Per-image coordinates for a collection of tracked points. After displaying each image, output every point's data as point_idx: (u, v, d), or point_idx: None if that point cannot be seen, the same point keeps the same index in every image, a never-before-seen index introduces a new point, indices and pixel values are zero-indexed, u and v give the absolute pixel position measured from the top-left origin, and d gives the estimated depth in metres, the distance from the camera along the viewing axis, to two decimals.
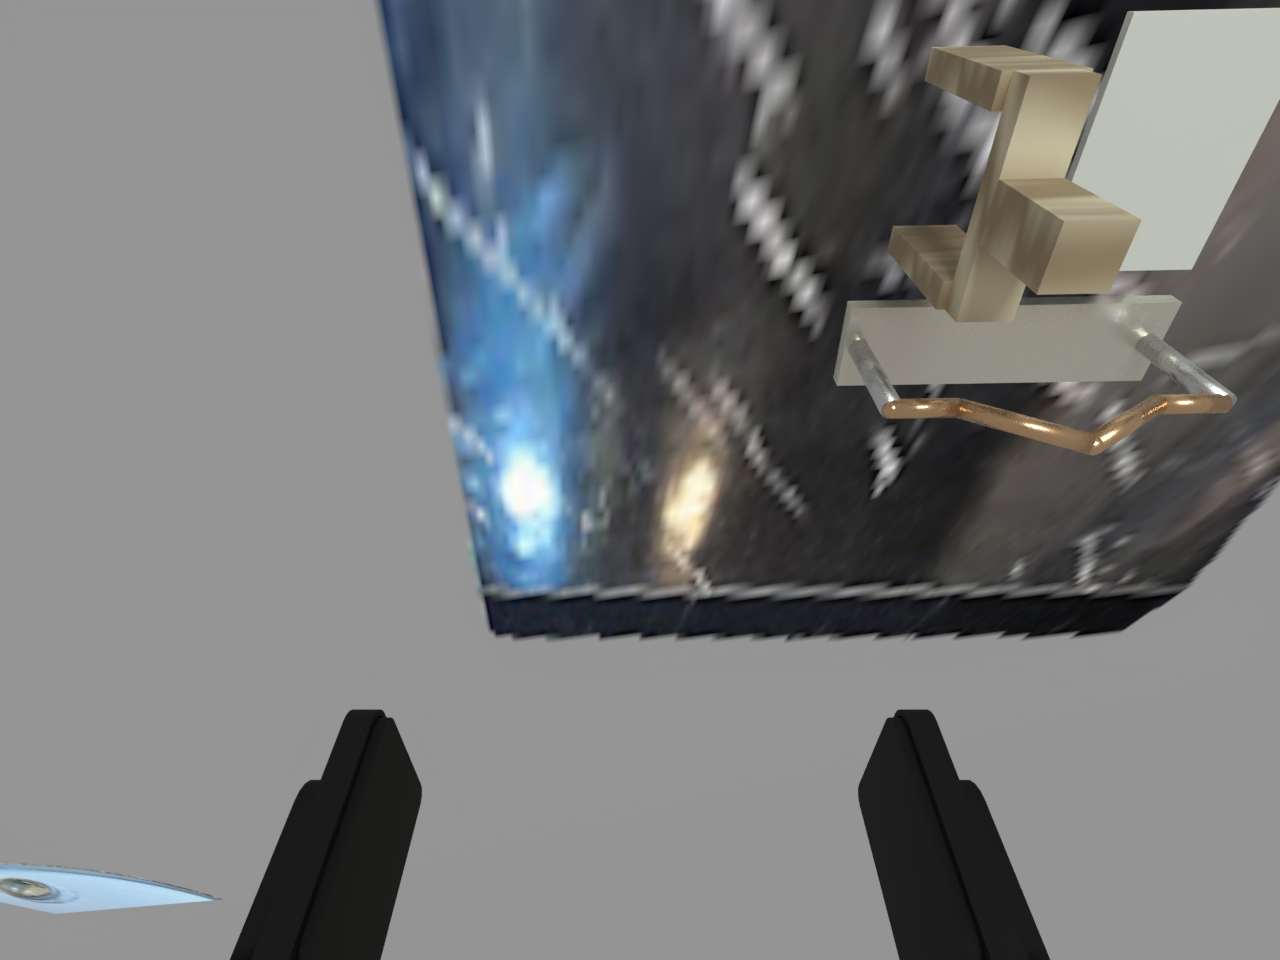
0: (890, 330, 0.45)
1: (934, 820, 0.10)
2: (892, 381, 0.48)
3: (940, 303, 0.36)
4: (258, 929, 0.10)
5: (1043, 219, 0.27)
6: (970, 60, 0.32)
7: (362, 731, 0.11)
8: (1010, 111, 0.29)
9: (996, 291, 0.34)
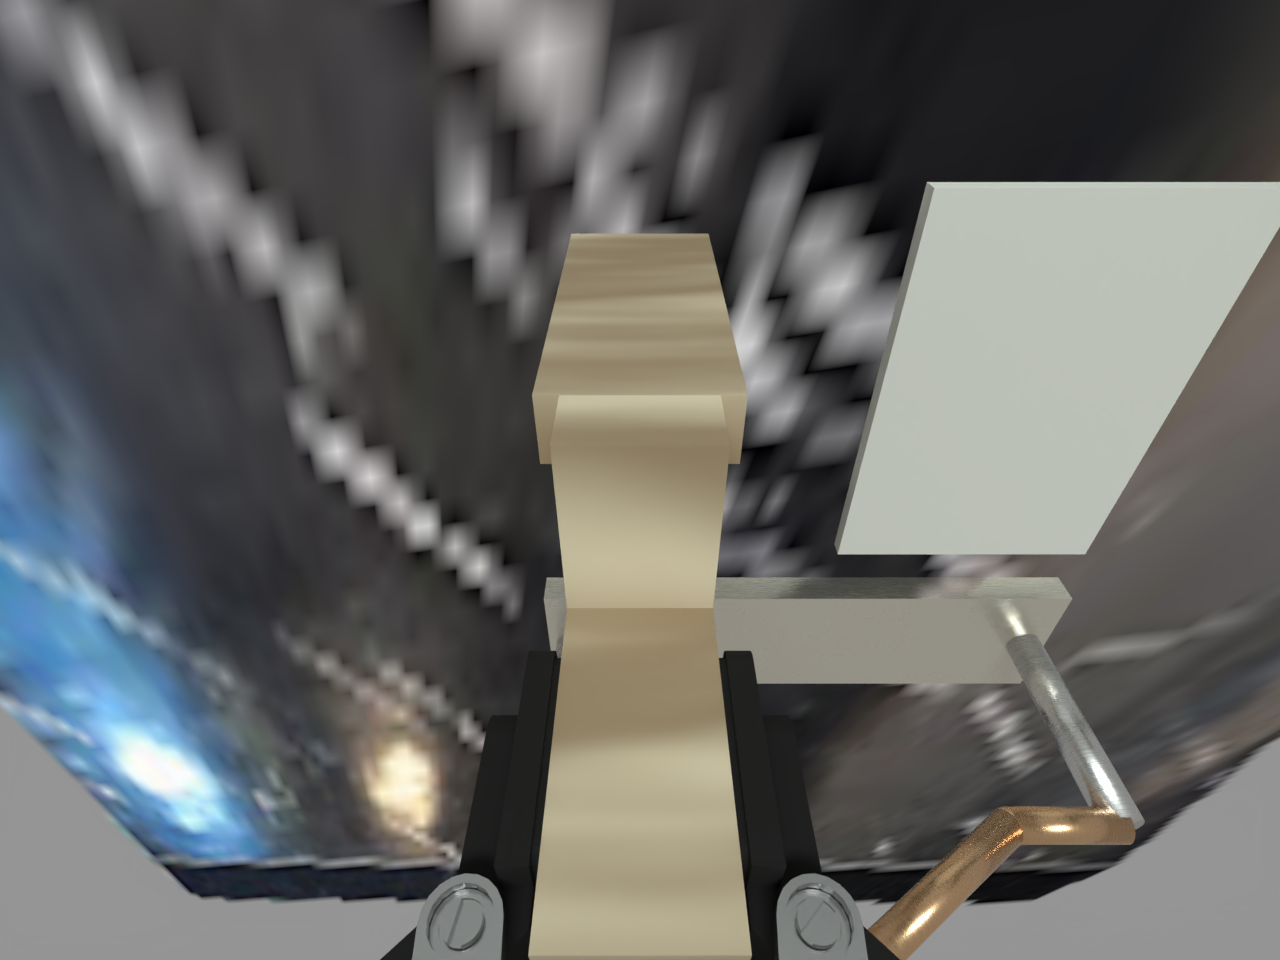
0: None
1: (730, 743, 0.11)
2: None
3: None
4: (479, 839, 0.11)
5: (543, 853, 0.10)
6: (552, 313, 0.15)
7: (545, 668, 0.12)
8: None
9: None
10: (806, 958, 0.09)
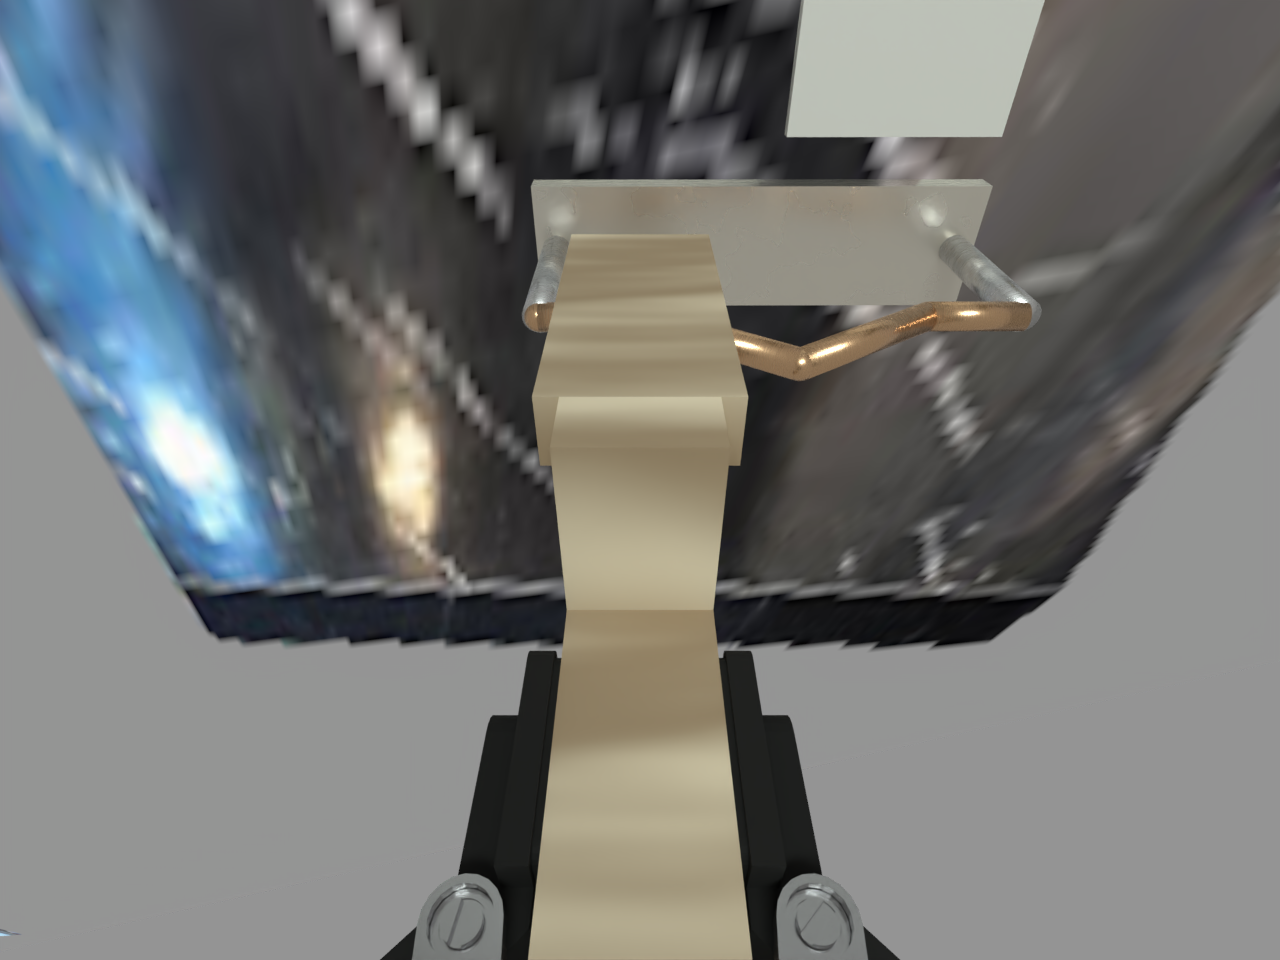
0: (593, 223, 0.32)
1: (731, 743, 0.11)
2: None
3: None
4: (479, 839, 0.11)
5: (543, 857, 0.10)
6: (552, 314, 0.15)
7: (546, 668, 0.12)
8: None
9: None
10: (806, 958, 0.09)
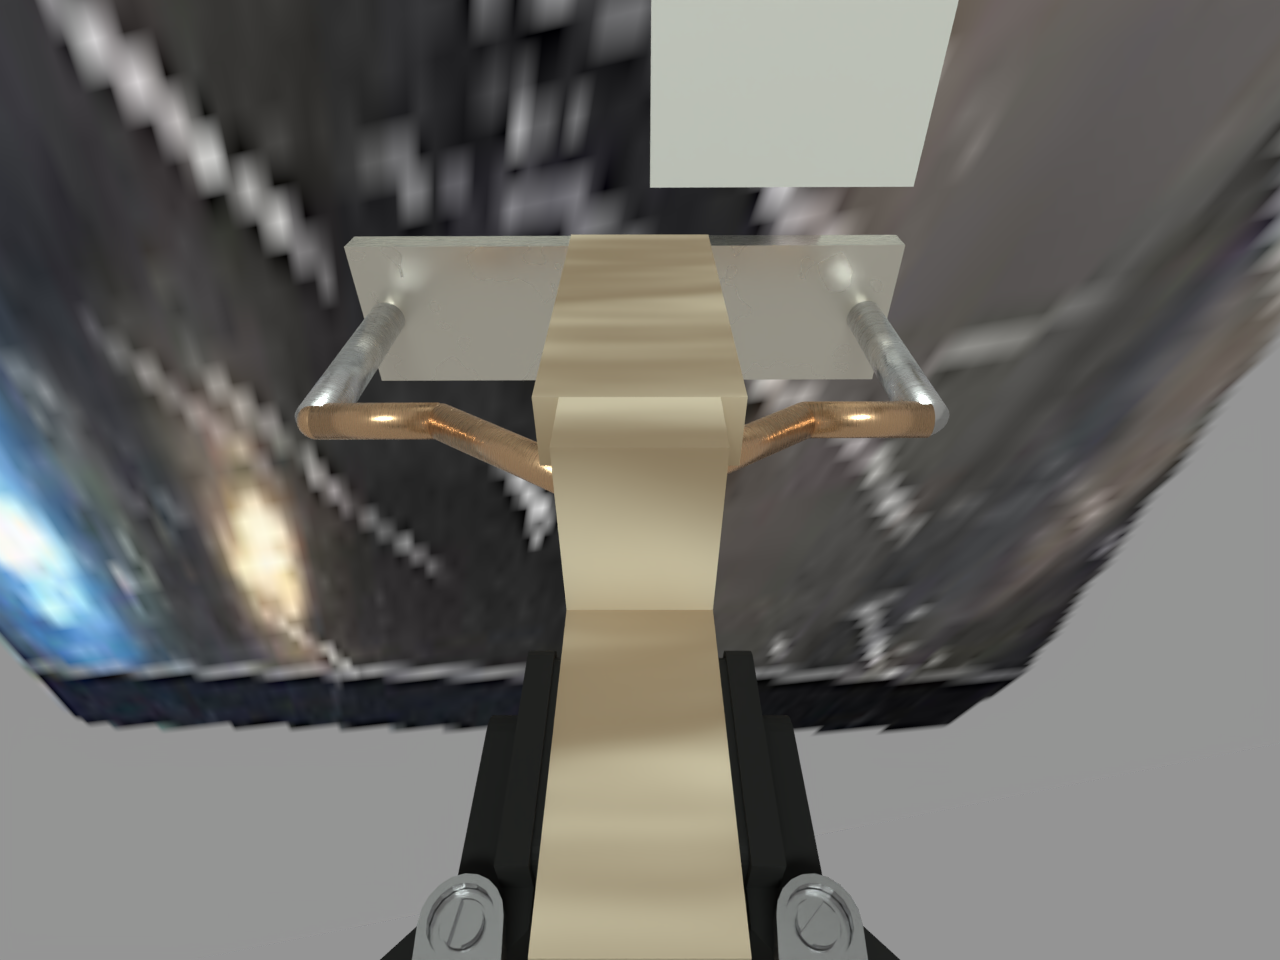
0: (427, 288, 0.27)
1: (730, 743, 0.11)
2: (469, 374, 0.29)
3: None
4: (479, 839, 0.11)
5: (543, 856, 0.10)
6: (552, 314, 0.15)
7: (546, 668, 0.12)
8: None
9: None
10: (806, 958, 0.09)
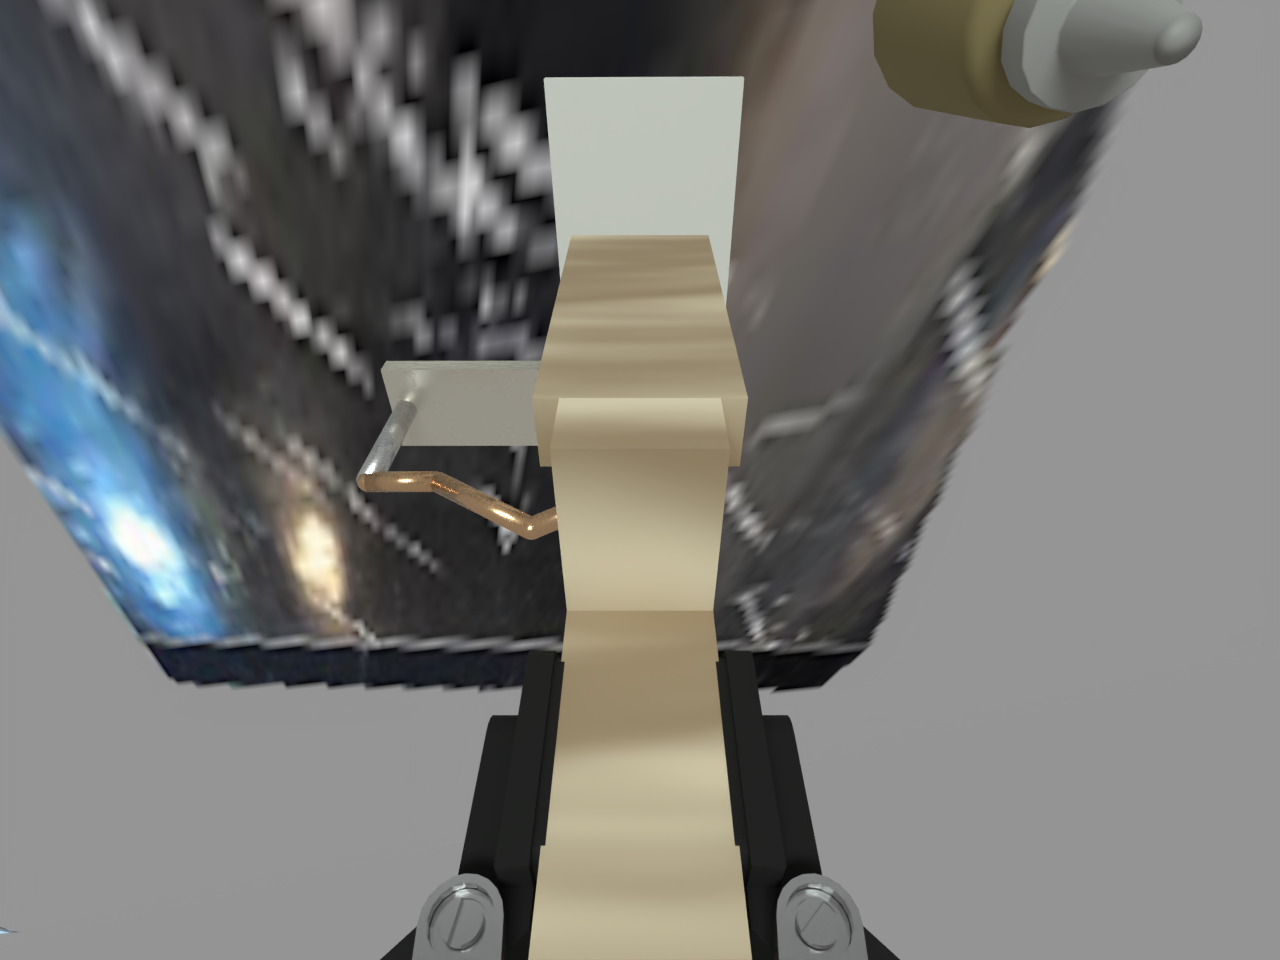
0: (431, 392, 0.44)
1: (730, 743, 0.11)
2: (458, 442, 0.46)
3: None
4: (479, 838, 0.11)
5: (543, 857, 0.10)
6: (552, 315, 0.15)
7: (545, 668, 0.12)
8: None
9: None
10: (806, 958, 0.09)
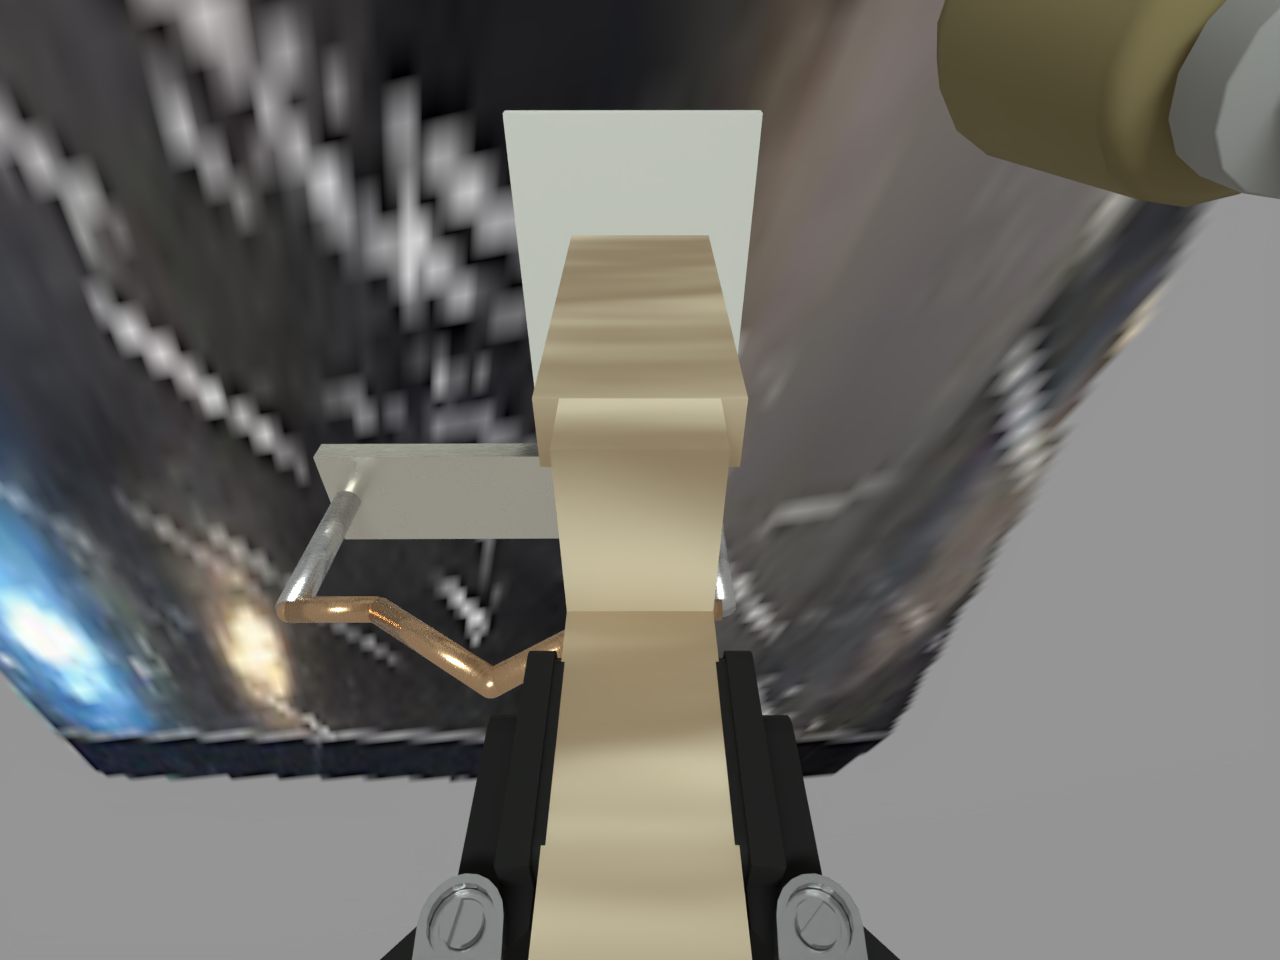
0: (376, 482, 0.36)
1: (731, 743, 0.11)
2: (412, 535, 0.38)
3: None
4: (479, 838, 0.11)
5: (543, 858, 0.10)
6: (552, 315, 0.15)
7: (545, 668, 0.12)
8: None
9: None
10: (806, 958, 0.09)
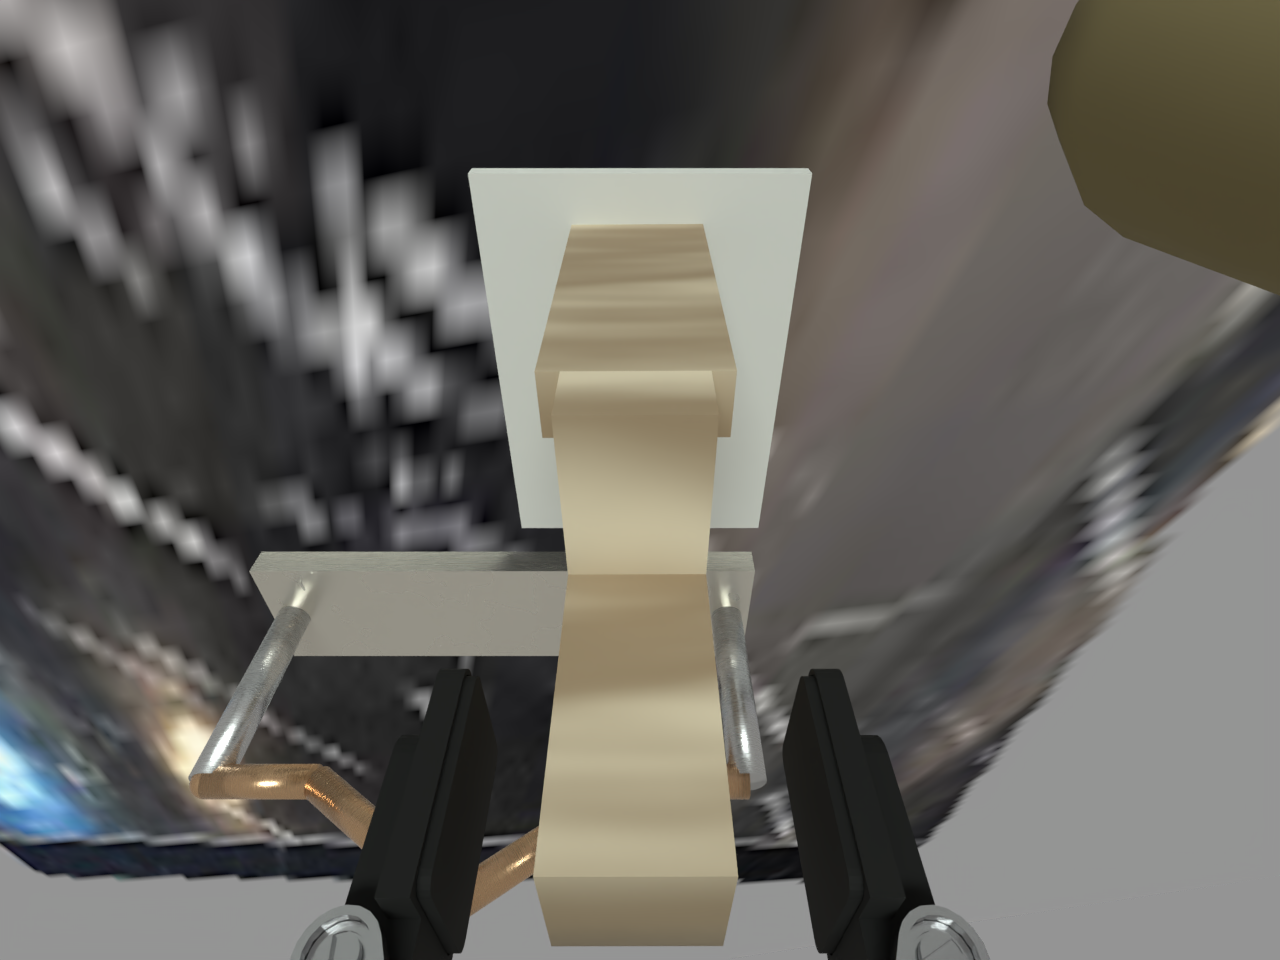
0: (328, 597, 0.30)
1: (831, 766, 0.11)
2: (374, 652, 0.32)
3: None
4: (371, 866, 0.10)
5: (546, 792, 0.11)
6: (553, 297, 0.16)
7: (454, 688, 0.12)
8: None
9: None
10: None
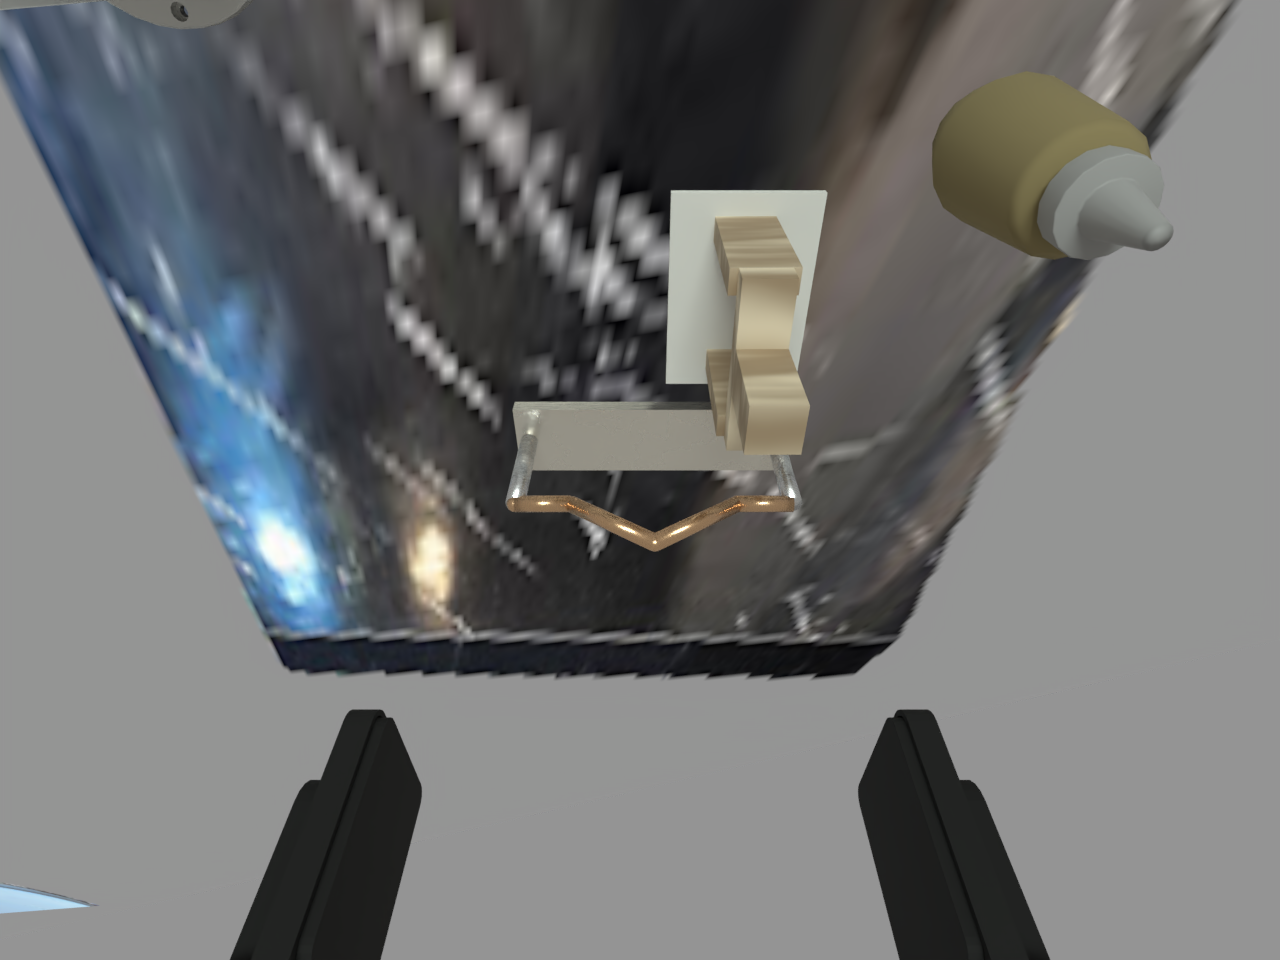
0: (551, 427, 0.53)
1: (934, 820, 0.10)
2: (568, 467, 0.55)
3: (719, 431, 0.43)
4: (258, 929, 0.10)
5: (745, 397, 0.34)
6: (723, 245, 0.39)
7: (362, 731, 0.11)
8: (738, 299, 0.36)
9: None
10: None
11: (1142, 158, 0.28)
